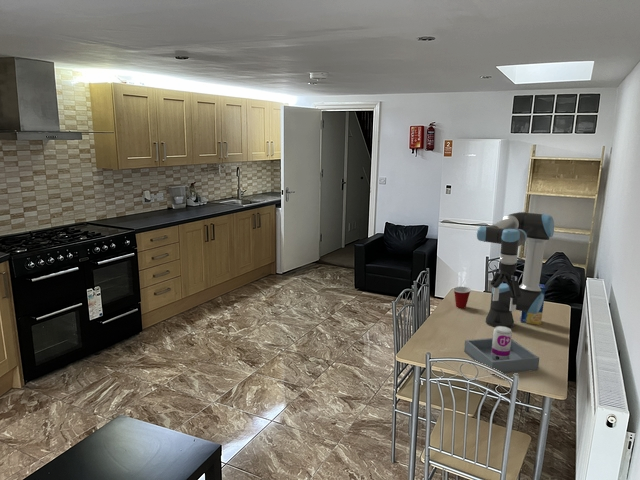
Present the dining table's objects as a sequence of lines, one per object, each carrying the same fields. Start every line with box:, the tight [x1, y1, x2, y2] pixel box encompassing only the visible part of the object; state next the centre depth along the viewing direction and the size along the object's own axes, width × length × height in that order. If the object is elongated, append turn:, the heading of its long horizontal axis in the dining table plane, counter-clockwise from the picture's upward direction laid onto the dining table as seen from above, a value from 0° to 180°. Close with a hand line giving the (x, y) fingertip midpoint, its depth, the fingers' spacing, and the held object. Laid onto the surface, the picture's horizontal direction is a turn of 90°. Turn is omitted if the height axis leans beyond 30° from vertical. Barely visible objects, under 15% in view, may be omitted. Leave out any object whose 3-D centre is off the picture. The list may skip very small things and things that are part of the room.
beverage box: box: [519, 283, 547, 325], centre depth 279 cm, size 7×11×22 cm, turn 72°
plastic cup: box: [452, 286, 472, 309], centre depth 301 cm, size 11×11×12 cm
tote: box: [463, 337, 540, 374], centre depth 230 cm, size 24×24×6 cm
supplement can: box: [491, 326, 513, 361], centre depth 229 cm, size 8×8×15 cm
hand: (503, 305), depth 229 cm, fingers open, 13 cm apart
